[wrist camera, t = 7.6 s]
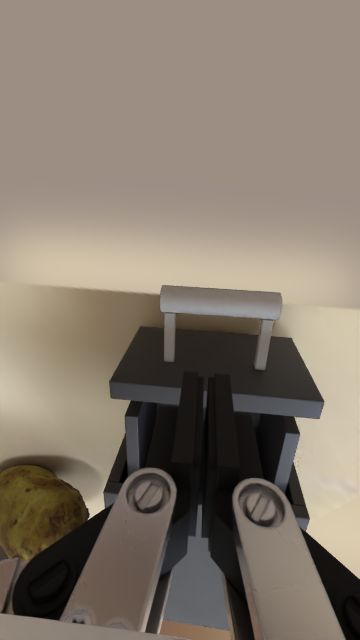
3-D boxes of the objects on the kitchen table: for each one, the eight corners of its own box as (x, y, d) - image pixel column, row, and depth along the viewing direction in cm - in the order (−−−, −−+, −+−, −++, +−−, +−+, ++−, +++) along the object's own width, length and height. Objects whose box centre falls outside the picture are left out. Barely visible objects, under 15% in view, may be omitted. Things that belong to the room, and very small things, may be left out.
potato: (-11, 437, 31) (-81, 513, 24) (107, 466, 31) (74, 551, 23) (-7, 488, 34) (-66, 568, 27) (100, 515, 34) (69, 603, 27)
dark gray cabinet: (137, 399, 27) (102, 492, 18) (279, 413, 26) (310, 519, 17) (141, 505, 33) (115, 612, 24) (256, 520, 31) (271, 638, 23)
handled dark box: (138, 264, 21) (102, 299, 14) (304, 274, 20) (349, 316, 13) (143, 453, 28) (120, 534, 21) (264, 467, 27) (280, 557, 20)
